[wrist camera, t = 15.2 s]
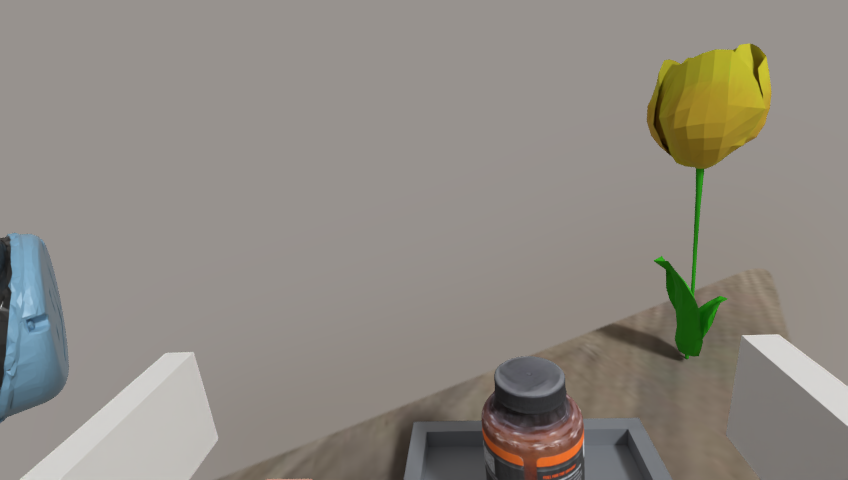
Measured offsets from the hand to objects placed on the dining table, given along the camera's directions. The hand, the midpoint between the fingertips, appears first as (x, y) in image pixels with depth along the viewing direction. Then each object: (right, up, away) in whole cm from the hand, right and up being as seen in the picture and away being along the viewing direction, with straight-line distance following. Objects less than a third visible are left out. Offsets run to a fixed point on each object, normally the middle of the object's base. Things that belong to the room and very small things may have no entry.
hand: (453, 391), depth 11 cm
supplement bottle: (+7, -15, +17) cm, 24 cm away
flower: (+27, -9, +35) cm, 45 cm away
